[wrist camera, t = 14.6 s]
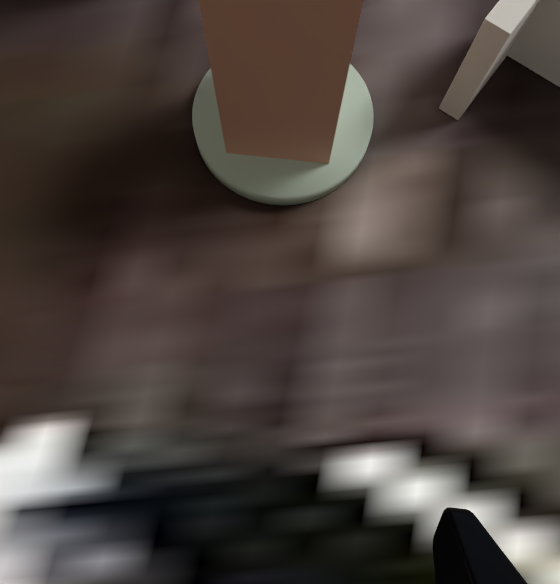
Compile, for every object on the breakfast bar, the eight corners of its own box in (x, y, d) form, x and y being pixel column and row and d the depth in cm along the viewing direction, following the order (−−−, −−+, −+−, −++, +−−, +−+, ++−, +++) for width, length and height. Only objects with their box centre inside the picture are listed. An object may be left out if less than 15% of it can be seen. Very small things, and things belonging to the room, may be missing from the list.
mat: (385, 193, 25) (389, 184, 24) (204, 216, 25) (201, 207, 24) (353, 42, 27) (356, 28, 26) (187, 60, 27) (184, 47, 26)
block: (328, 163, 24) (364, -9, 15) (226, 152, 24) (193, -26, 15) (337, 75, 25) (375, -138, 16) (239, 65, 26) (218, -152, 16)
